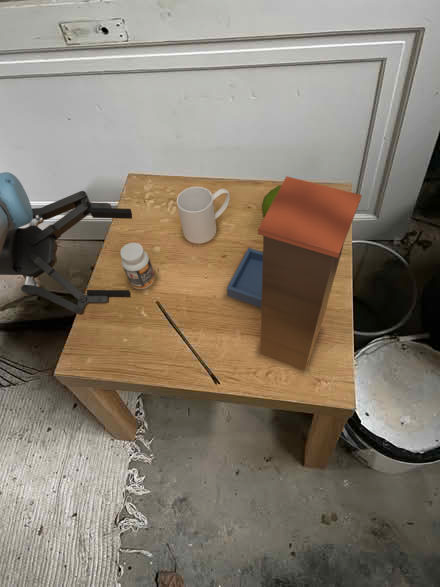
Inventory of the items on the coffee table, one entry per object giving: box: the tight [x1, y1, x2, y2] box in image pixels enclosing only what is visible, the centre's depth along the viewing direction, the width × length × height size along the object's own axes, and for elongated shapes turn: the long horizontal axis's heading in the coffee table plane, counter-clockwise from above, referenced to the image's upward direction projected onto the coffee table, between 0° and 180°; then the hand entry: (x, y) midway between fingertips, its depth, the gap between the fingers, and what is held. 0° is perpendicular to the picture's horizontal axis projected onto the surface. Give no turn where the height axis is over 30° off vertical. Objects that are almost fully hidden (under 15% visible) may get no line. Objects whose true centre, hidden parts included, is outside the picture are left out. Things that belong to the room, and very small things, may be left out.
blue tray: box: [226, 247, 263, 308], centre depth 88 cm, size 12×12×3 cm
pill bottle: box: [119, 242, 156, 290], centre depth 88 cm, size 6×6×10 cm
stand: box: [257, 176, 363, 371], centre depth 66 cm, size 10×10×36 cm
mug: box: [176, 186, 231, 245], centre depth 95 cm, size 12×8×10 cm, turn 117°
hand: (130, 253), depth 69 cm, fingers open, 13 cm apart
